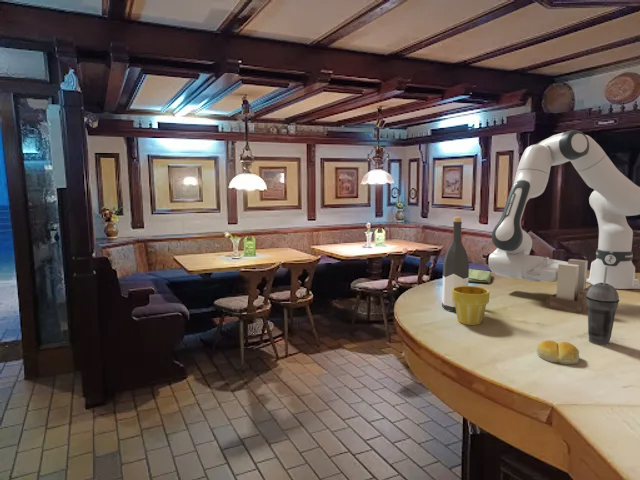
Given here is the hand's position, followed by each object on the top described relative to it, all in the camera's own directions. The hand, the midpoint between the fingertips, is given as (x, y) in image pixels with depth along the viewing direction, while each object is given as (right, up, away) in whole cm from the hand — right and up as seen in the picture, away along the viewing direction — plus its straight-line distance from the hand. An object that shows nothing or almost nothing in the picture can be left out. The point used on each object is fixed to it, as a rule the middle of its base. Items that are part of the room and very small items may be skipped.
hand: (580, 274), depth 147 cm
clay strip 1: (-8, -10, -5) cm, 14 cm away
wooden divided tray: (-4, -11, -2) cm, 12 cm away
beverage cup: (-13, -15, -30) cm, 36 cm away
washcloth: (-19, -6, +45) cm, 49 cm away
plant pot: (-41, -13, -13) cm, 45 cm away
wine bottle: (-41, -11, +1) cm, 43 cm away
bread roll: (-28, -17, -40) cm, 52 cm away
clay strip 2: (-1, -9, +2) cm, 10 cm away
